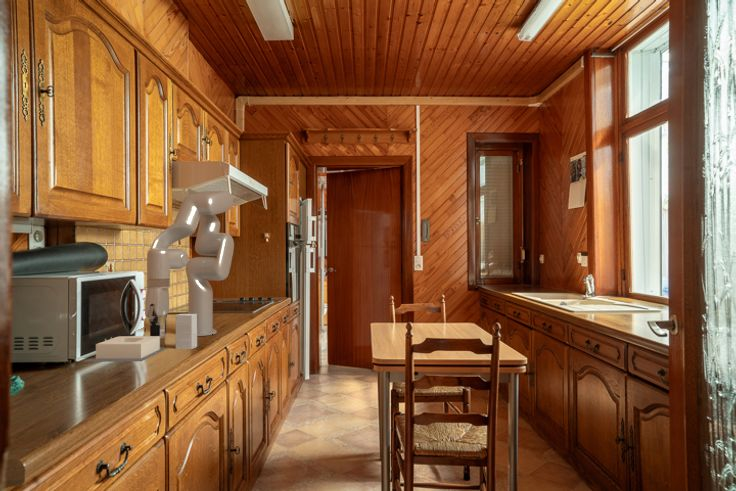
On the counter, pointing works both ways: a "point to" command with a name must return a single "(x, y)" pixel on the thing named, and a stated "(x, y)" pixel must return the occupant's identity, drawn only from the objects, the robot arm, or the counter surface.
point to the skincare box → (186, 331)
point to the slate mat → (125, 358)
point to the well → (127, 347)
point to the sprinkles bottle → (162, 329)
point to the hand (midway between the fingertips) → (158, 334)
